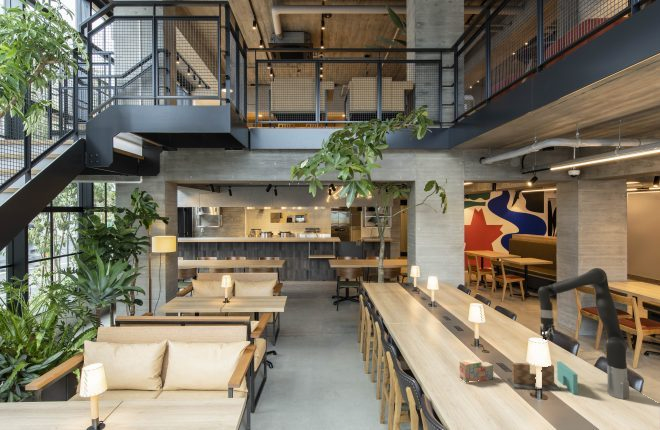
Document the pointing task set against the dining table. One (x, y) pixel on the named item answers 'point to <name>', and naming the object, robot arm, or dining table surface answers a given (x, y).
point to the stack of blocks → (475, 370)
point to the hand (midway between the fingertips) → (548, 341)
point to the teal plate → (567, 377)
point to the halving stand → (531, 377)
